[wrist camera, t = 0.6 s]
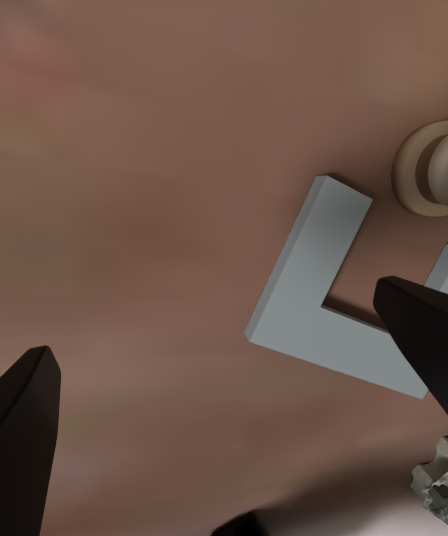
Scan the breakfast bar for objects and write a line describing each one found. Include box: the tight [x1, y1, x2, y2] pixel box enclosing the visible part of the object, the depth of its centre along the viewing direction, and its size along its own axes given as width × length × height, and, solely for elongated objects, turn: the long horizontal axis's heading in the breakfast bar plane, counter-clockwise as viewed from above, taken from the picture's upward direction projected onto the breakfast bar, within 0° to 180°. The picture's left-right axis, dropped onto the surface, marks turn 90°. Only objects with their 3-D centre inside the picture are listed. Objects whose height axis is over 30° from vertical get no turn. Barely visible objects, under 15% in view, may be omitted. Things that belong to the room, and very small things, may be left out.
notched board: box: [244, 176, 448, 399], centre depth 25 cm, size 12×16×2 cm
